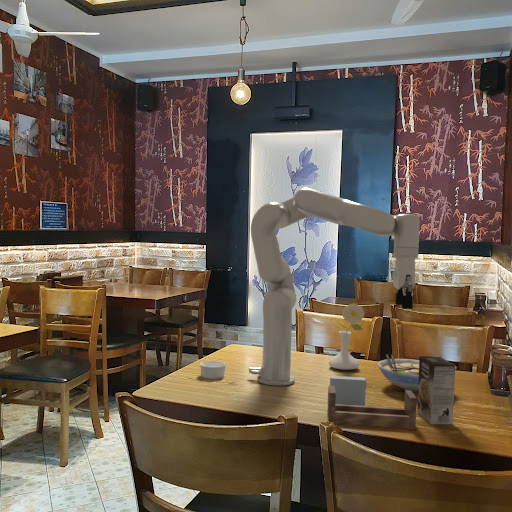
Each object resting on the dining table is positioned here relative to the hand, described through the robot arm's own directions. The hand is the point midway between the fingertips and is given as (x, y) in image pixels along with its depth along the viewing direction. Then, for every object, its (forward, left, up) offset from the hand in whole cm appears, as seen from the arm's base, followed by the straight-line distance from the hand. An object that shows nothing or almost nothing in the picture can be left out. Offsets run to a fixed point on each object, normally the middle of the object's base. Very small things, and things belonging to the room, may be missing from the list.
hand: (403, 306), depth 160 cm
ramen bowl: (+5, +6, -28) cm, 29 cm away
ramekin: (-62, +7, -28) cm, 68 cm away
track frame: (-13, -29, -28) cm, 42 cm away
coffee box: (+5, -23, -28) cm, 37 cm away
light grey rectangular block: (-18, -16, -28) cm, 37 cm away
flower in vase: (-15, +28, -28) cm, 42 cm away
